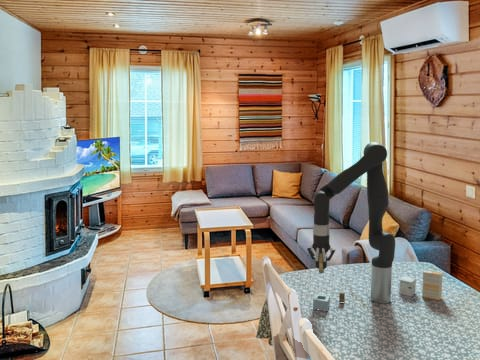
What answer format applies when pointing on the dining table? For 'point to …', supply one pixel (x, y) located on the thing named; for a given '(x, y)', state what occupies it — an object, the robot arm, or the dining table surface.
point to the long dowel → (321, 263)
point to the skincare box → (407, 286)
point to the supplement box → (432, 284)
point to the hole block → (321, 302)
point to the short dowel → (341, 297)
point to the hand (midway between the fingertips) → (321, 268)
